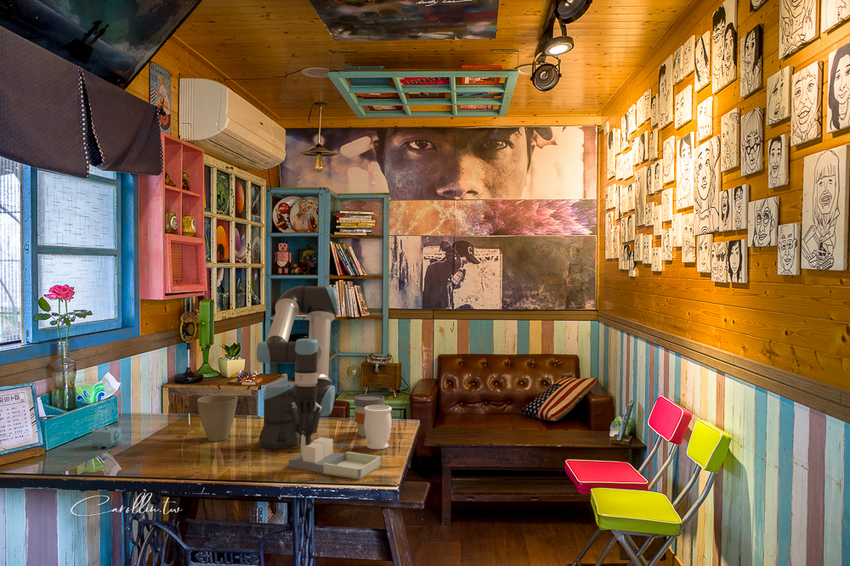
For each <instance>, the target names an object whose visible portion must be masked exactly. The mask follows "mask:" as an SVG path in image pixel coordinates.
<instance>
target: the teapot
mask: <svg viewBox="0 0 850 566" xmlns="http://www.w3.org/2000/svg"><path fill="white" fill-rule="evenodd" d="M89 430H90V431H91V433H92V439H91V447H96V449H97V450H98V449H102V448H103V447H104V448H105V449H106V450H108V449H111V448H112V447H115V446H117V445H118V444H120V443H121V442H122V440H121V439H122V432H121V430H122V428H121V427H110V426H109V425H107V426H103V427H100V428H98V429H94V428H89Z"/></svg>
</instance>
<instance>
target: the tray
mask: <svg viewBox="0 0 850 566" xmlns="http://www.w3.org/2000/svg"><path fill="white" fill-rule="evenodd" d="M345 454H346V460H344V461H342V462H340V463H339V464H337V465H334V464H328V463H324V473H323V474H324V475H330V476H337V477H342V478H348V479H354V480H359V481H360V480H362V479H363V478H365V477H366V476H368V475H370V474H371V473H373V472H375V471H376V470H377V469H379V468H381V467H382V458H383V457H382V456H381V455H380V456H379V455H373V454H367V453H360V452H354V451H353V452H352V451H346V452H345Z"/></svg>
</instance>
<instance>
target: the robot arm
mask: <svg viewBox="0 0 850 566" xmlns="http://www.w3.org/2000/svg"><path fill="white" fill-rule="evenodd" d="M274 310H275V314H274V317H273V321H272V324H271V326H270V329H269V332H268V335H267V338H266V341H265V340H264V341H260V342H258V343H257V346H256V360H257V362H258V363H261V364H294V365H295V367H294V381H290V380H289V381H282V382H276V383H271V384H269V385H267V386H266V387H265V388H264V393H263V425H262V428H261V432H260V433H259V436H258V446H259V447H260V448H263V449H268V450H269V449H270V450H281V449H288V448H292V447H296V446H298V445H300V454H301V455H303V446H304V445H310V444H311V442H312V435H314V434H316V433H317V430H318V427H319V422H320V417H328V416H330V415H331V413H332V411H333V407H334V403H335V397H336V386H335V385H333V383H332V382H333V381H332V380H331V378H329V370H330V369H329V367H330V349H331V347H330V346H331V345H330V343H331V329H332V328H331V325H332V322H333V321H334V320H335V318H336V316H337V315H338V314H339V301H338V293H337V289H336V288H335V287H334V286H326V285H324V286H323V285H322V286H318V285H317V286H315V285H314V286H313V285H311V286H310V285H309V286H307V285H299V286H295V287H292V288H289V289H288V290H286V291H285V292H284V293H282V295H280V296H279V297H278V299H277V300H276V303H275V305H274ZM301 314H302V315H306V319H307V320H308V321H309V326H308V327H309V329H308V330H309V331H308V338H298V339H296V341H289V340H290V335H291V331H292V327H293V325H294V321H295V318H296V317H297V316H298V315H301ZM335 315H336V316H335Z"/></svg>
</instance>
